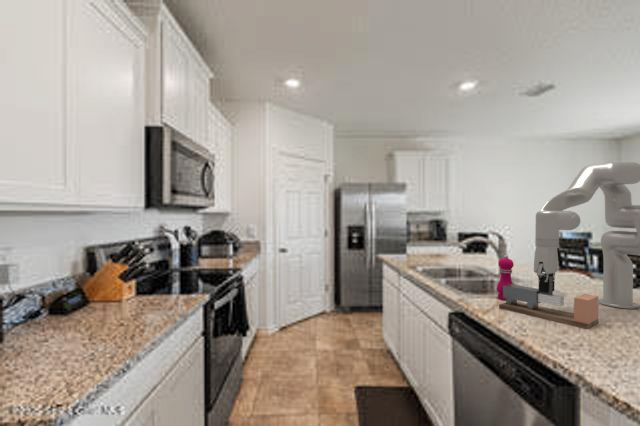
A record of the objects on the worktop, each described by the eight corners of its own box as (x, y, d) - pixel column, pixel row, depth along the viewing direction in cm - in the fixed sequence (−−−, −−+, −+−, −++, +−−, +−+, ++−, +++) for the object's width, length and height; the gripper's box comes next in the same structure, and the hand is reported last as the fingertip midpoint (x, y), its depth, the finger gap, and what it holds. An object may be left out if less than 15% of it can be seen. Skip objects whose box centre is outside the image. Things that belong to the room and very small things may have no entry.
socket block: (584, 316, 124) (584, 293, 124) (598, 319, 121) (598, 296, 120) (573, 321, 118) (574, 297, 118) (587, 324, 115) (588, 300, 115)
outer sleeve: (508, 301, 143) (509, 283, 143) (541, 308, 133) (542, 289, 133) (502, 303, 140) (503, 285, 140) (536, 310, 130) (536, 291, 130)
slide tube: (510, 294, 142) (511, 270, 142) (563, 304, 126) (564, 277, 126) (507, 295, 140) (507, 271, 140) (560, 306, 124) (560, 278, 124)
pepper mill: (499, 300, 151) (499, 255, 151) (494, 296, 158) (495, 253, 158) (517, 301, 149) (517, 256, 149) (511, 297, 156) (512, 254, 156)
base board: (512, 304, 145) (512, 300, 145) (598, 322, 121) (598, 318, 121) (499, 308, 139) (499, 304, 139) (587, 328, 114) (587, 324, 114)
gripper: (545, 241, 137) (545, 286, 137) (526, 243, 128) (525, 292, 128) (567, 243, 131) (566, 290, 131) (548, 245, 121) (548, 296, 121)
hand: (546, 290), depth 129 cm, fingers open, 4 cm apart
